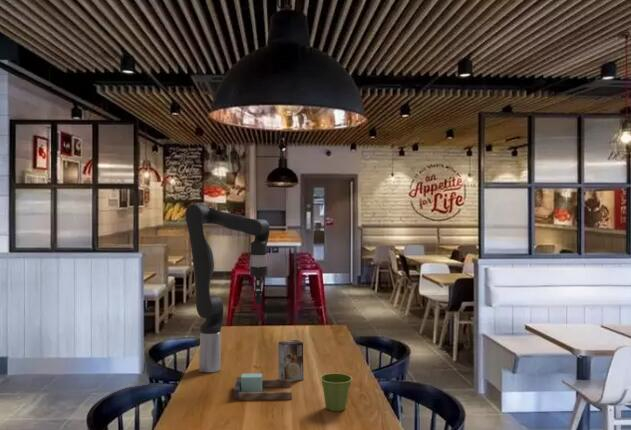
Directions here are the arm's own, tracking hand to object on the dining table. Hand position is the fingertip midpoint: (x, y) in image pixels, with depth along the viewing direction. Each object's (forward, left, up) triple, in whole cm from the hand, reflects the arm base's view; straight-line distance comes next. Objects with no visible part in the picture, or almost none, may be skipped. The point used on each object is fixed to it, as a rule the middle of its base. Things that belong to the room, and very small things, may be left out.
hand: (258, 302), depth 248 cm
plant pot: (+30, -42, -32) cm, 61 cm away
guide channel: (+3, -23, -32) cm, 40 cm away
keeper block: (-2, -23, -32) cm, 40 cm away
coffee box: (+14, -6, -32) cm, 36 cm away
